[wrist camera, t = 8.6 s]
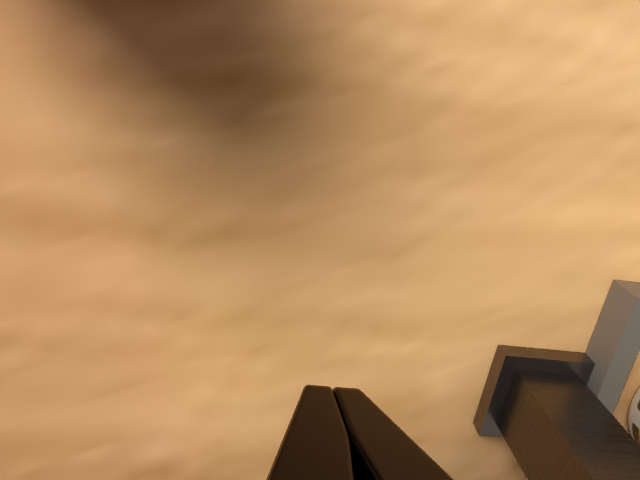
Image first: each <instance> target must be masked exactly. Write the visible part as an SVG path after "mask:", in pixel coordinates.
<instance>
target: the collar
mask: <svg viewBox="0 0 640 480" xmlns="http://www.w3.org/2000/svg"><path fill="white" fill-rule="evenodd" d="M639 350H640V283H639V282H630V281H622V280H613V282H612V285H611V287H610V290H609V293H608V295H607V298H606V300H605V303H604V306H603V308H602V311H601V313H600V316H599V319H598V321H597V324H596V326H595V329H594V332H593V334H592V337H591V339H590V342H589V345H588V347H587V350H586V352H585V353H586V354H587V355H588V356H589V357H590V359H591V360H592V361H593V362H594V363H595V366H594V368H593V371H592V373H591V376H590V378H589V381H588V383H587V386H588V387H589V389H590V390H591V391H592V392H593V393H594V394H595V395H596V397H597V398H598V399H599V400H600V401H601V402H602V404H603V405H604V406H605V407H606V408H607V409H608V410H609V412H610V413H611V414H613V412H614V409H615V407H616V405H617V402H618V400H619V397H620V395H621V393H622V390H623V388H624V386H625V383H626V381H627V378H628V376H629V374H630V371H631V369H632V367H633V364H634V362H635V360H636V357H637V355H638V352H639Z"/></svg>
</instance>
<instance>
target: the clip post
mask: <svg viewBox="0 0 640 480" xmlns="http://www.w3.org/2000/svg"><path fill="white" fill-rule="evenodd" d="M594 366H595V363H594V362H593V361H592V360H591V359H590V357H589V356H588V355H587V354H586V353H580V352H569V351H559V350H548V349H537V348H526V347H515V346H505V345H498V347H497V350H496V353H495V356H494V359H493V362H492V365H491V368H490V372H489V375H488V378H487V381H486V384H485V387H484V390H483V393H482V396H481V400H480V403H479V406H478V409H477V412H476V415H475V418H474V421H473V424H474V426H475V428H476V429H477V431H478V433H479V435H485V436H500V437H504V439H505V440H506V442H507V444H508V446H509V447H510V449H511V451H512V453H513V454H514V456H515V458H516V459H517V461H518V463H519V465H520V466H521V468H522V470H523V472H524V473H525V475H526V477H527V478H528V480H640V446H639V445H638V444H637V443H636V442H635V440H634V439H633V438H632V437H631V436H630V435H629V434H628V432H627V431H626V430H625V429H624V428H623V427H622V425H621V424H620V423H619V422H618V421H617V420H616V419H615V417H614V416H613V415H612V414H611V413H610V412H609V410H608V409H607V408H606V407H605V406H604V405H603V404H602V402H601V401H600V400H599V399H598V398H597V397H596V395H595V394H594V393H593V392H592V391H591V390H590V389H589V387H588V386H587V383H588V381H589V378H590V376H591V373H592V371H593V368H594Z"/></svg>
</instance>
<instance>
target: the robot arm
mask: <svg viewBox="0 0 640 480" xmlns="http://www.w3.org/2000/svg"><path fill="white" fill-rule="evenodd" d="M267 480H453V479H452V478H451V477H450V476H449V475H448V474H447V473H446V472H445V471H444V470H443V469H442V468H441V467H440V466H439V465H438V464H437V463H436V462H435V461H434V460H433V459H432V458H430V457H429V456H428V455H427V454H426V453H425V452H424V451H423V450H422V449H421V448H420V447H419V446H418V445H417V444H416V443H415V442H414V441H413V440H412V439H411V438H410V437H409V436H408V435H407V434H406V433H405V432H403V431H402V430H401V429H400V428H399V427H398V426H397V425H396V424H395V423H394V422H393V421H392V420H391V419H390V418H389V417H388V416H387V415H386V414H385V413H384V412H383V411H382V410H381V409H380V408H379V407H377V406H376V405H375V404H374V403H373V402H372V401H371V400H370V399H369V398H368V397H367V396H366V395H365V394H364V393H363V392H362V391H361V390H359V389H356V388H342V387H335V388H333V390H332V389H331V388H330V387H328V386H316V385H306V386H305V387H304V389H303V391H302V394H301V396H300V399H299V401H298V404H297V406H296V408H295V411H294V413H293V416H292V418H291V421H290V423H289V426H288V428H287V431H286V433H285V435H284V438H283V440H282V443H281V445H280V448H279V450H278V453H277V455H276V458H275V460H274V462H273V465H272V467H271V470H270V472H269V475H268V477H267Z"/></svg>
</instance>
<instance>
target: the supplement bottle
mask: <svg viewBox="0 0 640 480" xmlns="http://www.w3.org/2000/svg"><path fill="white" fill-rule="evenodd" d="M628 425H629V430H630V434H631V436H632V438H633V439H634V440H635V442H636V443H637V444H638V445H639V446H640V387H639V389H638V390H637V392H636V394H635V395H634V397H633V399H632V402H631V405H630V408H629V413H628Z"/></svg>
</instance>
